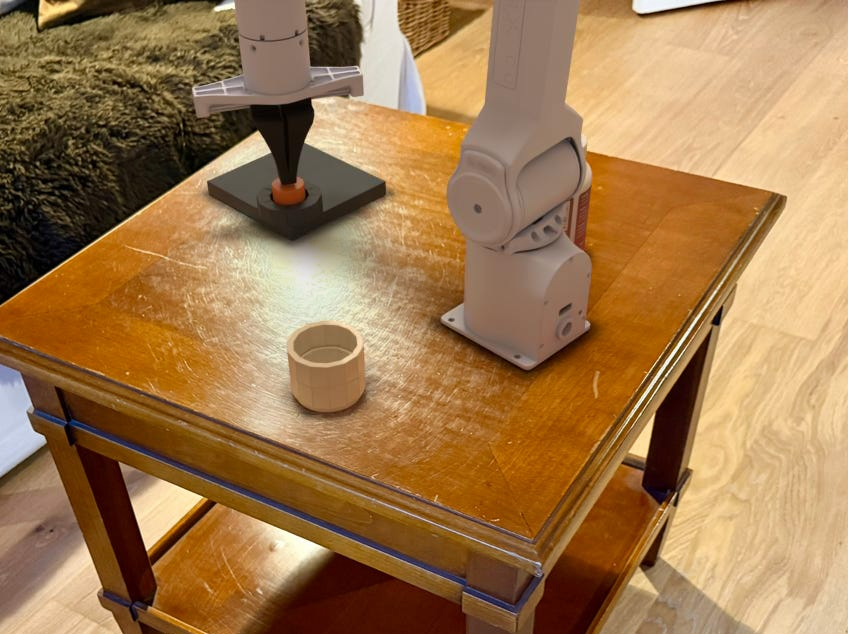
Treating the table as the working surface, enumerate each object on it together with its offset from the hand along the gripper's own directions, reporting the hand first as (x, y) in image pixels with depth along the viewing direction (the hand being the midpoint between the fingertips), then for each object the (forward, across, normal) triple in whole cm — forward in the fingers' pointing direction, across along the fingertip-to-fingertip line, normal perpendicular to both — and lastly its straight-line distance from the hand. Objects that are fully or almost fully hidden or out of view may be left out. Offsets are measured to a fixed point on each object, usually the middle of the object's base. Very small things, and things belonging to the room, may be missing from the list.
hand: (287, 179), depth 93 cm
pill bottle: (+5, -21, +12) cm, 25 cm away
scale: (+5, -2, -5) cm, 7 cm away
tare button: (+2, 0, 0) cm, 2 cm away
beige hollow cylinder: (+5, +2, +25) cm, 26 cm away
